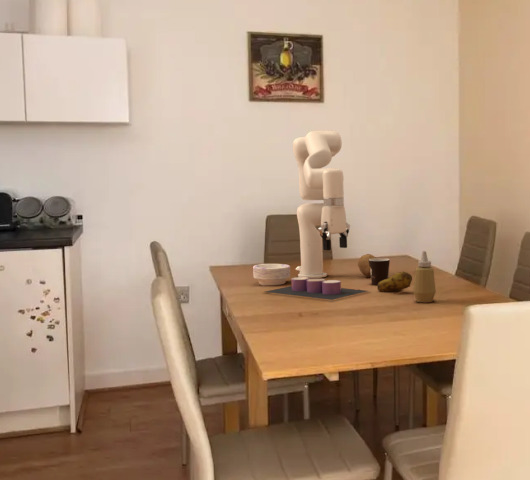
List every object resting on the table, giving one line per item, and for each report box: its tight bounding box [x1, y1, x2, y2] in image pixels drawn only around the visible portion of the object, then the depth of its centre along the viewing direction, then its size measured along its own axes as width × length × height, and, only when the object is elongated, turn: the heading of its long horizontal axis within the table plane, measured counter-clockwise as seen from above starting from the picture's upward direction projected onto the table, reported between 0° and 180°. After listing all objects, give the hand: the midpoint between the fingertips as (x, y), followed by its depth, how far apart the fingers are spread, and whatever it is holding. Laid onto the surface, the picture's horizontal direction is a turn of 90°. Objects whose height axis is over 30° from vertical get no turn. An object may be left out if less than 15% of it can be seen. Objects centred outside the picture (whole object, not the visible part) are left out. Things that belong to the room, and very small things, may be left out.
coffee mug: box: [369, 257, 391, 286], centre depth 318 cm, size 12×9×10 cm
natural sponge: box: [357, 253, 377, 278], centre depth 336 cm, size 9×9×10 cm
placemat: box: [264, 285, 368, 301], centre depth 299 cm, size 34×22×1 cm, turn 55°
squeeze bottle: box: [413, 250, 437, 304], centre depth 275 cm, size 8×8×18 cm
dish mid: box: [306, 278, 326, 293], centre depth 298 cm, size 7×7×4 cm
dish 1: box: [290, 276, 311, 291], centre depth 302 cm, size 7×7×4 cm
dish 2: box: [322, 279, 342, 295], centre depth 294 cm, size 7×7×4 cm
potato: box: [377, 271, 413, 293], centre depth 296 cm, size 8×13×8 cm, turn 72°
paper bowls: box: [252, 263, 291, 286], centre depth 319 cm, size 15×15×8 cm
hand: (335, 248), depth 292 cm, fingers open, 9 cm apart
